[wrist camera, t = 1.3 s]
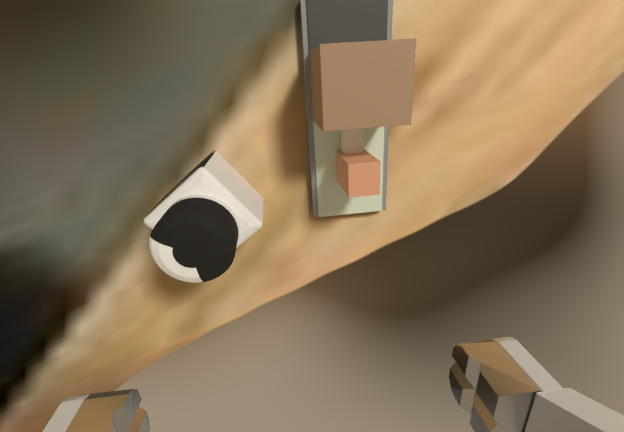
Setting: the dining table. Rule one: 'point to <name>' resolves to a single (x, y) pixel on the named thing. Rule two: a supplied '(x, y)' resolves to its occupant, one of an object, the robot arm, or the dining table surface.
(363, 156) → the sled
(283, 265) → the dining table surface
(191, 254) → the medicine bottle
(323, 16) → the tunnel board
